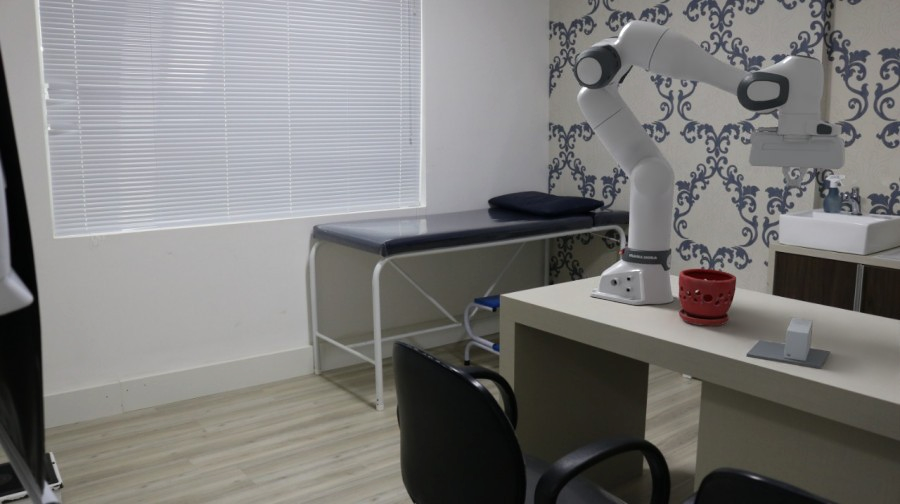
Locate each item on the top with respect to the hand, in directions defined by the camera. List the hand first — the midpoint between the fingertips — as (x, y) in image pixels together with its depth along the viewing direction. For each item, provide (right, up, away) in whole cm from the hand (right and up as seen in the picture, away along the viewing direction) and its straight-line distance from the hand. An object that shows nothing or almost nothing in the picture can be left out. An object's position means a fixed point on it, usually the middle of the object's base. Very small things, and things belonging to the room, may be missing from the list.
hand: (793, 187), depth 174 cm
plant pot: (-18, -32, +7) cm, 38 cm away
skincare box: (-4, -32, -14) cm, 35 cm away
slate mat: (-9, -37, -18) cm, 42 cm away
